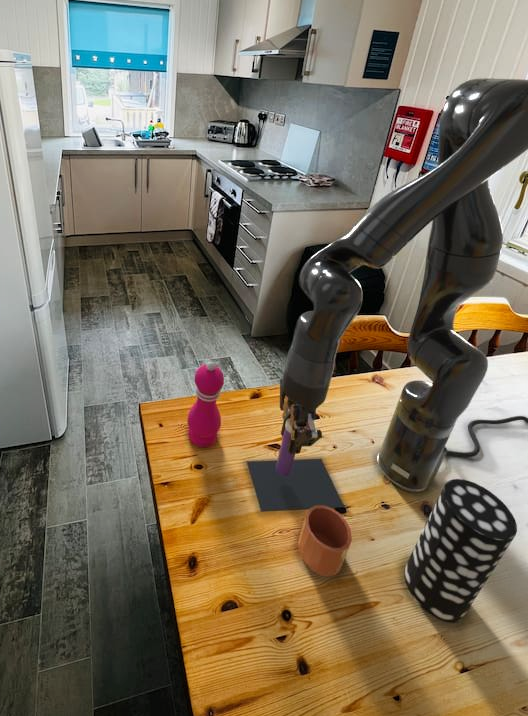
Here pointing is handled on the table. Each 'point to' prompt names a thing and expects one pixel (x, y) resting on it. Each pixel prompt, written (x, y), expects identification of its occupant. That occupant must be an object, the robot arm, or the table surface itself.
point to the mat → (293, 486)
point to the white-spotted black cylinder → (458, 549)
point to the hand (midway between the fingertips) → (289, 443)
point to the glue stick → (285, 452)
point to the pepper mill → (206, 406)
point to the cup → (324, 540)
